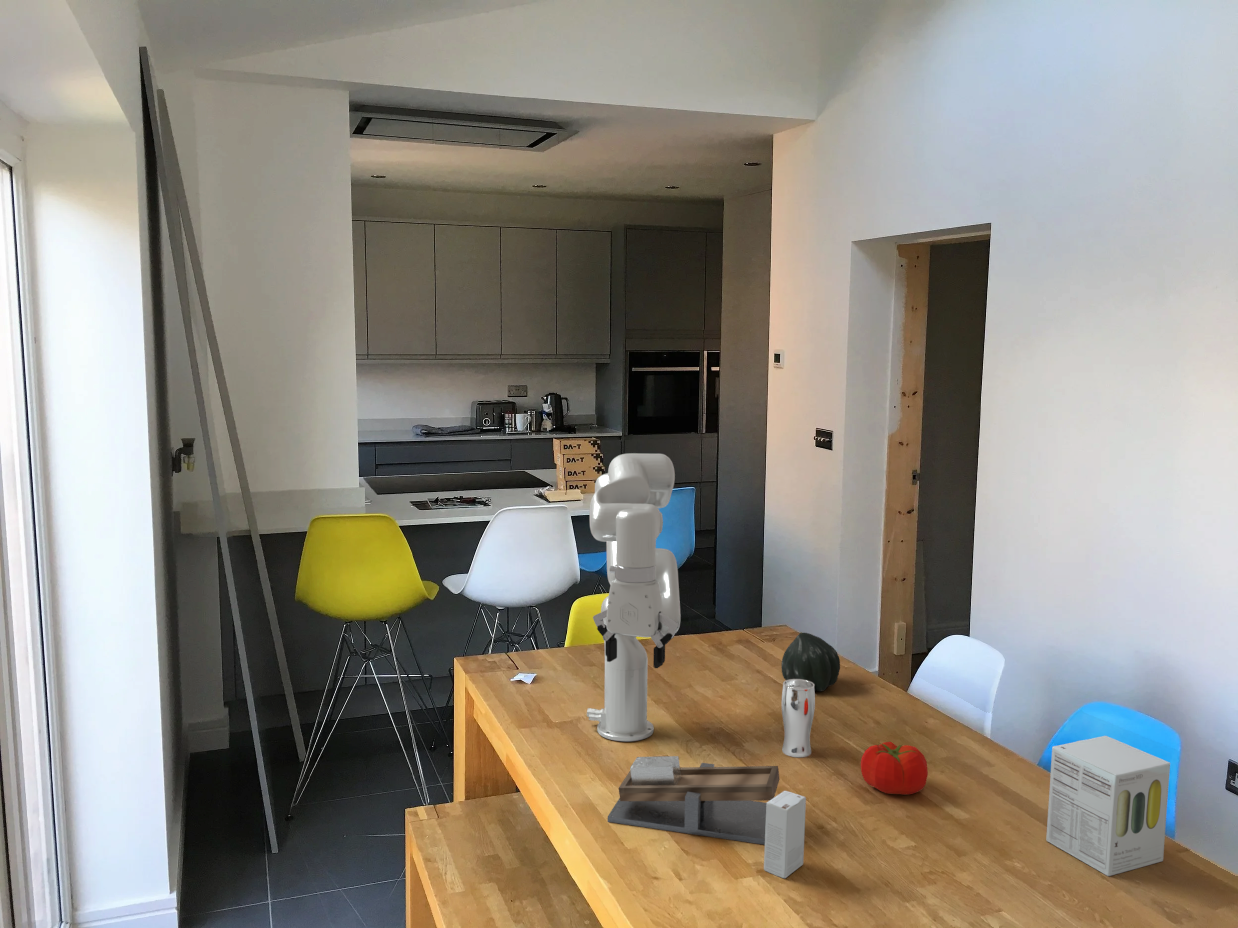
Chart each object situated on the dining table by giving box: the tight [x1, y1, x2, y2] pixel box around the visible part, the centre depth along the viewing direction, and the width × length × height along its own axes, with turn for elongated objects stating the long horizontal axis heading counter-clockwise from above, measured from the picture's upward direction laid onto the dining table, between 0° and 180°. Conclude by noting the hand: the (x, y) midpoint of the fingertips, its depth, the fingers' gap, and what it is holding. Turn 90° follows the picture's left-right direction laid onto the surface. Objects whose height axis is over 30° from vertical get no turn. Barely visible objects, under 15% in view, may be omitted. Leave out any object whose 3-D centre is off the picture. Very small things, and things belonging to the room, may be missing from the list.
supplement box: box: [1045, 735, 1171, 877], centre depth 167 cm, size 13×13×18 cm
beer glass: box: [781, 679, 816, 759], centre depth 208 cm, size 7×7×15 cm
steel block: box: [629, 755, 681, 786], centre depth 181 cm, size 8×5×4 cm, turn 74°
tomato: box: [860, 741, 929, 796], centre depth 192 cm, size 13×12×8 cm
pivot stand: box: [607, 762, 767, 846], centre depth 179 cm, size 31×15×7 cm, turn 74°
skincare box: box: [763, 790, 807, 879], centre depth 161 cm, size 6×4×12 cm
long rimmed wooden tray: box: [618, 765, 780, 802], centre depth 179 cm, size 28×9×2 cm, turn 74°
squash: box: [781, 632, 841, 692], centre depth 250 cm, size 14×15×15 cm
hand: (634, 663), depth 186 cm, fingers open, 9 cm apart
